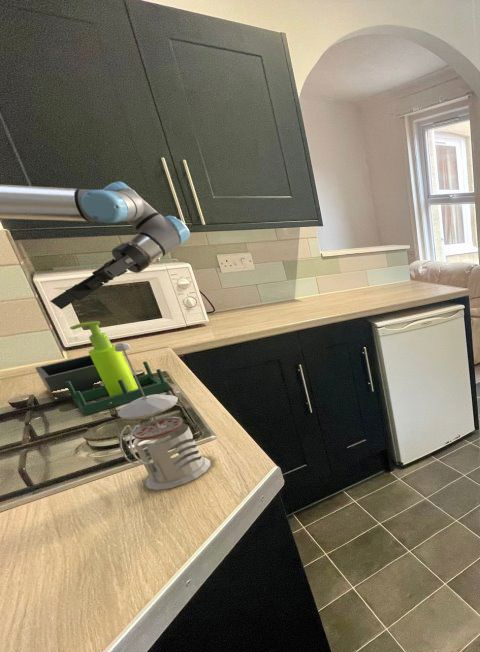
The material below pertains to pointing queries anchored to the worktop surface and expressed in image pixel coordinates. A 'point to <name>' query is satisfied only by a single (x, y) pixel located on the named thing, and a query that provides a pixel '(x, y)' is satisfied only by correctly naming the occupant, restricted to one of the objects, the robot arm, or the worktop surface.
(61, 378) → the basin
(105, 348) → the soap dispenser
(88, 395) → the dish rack
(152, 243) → the robot arm
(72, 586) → the worktop surface
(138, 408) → the french press
